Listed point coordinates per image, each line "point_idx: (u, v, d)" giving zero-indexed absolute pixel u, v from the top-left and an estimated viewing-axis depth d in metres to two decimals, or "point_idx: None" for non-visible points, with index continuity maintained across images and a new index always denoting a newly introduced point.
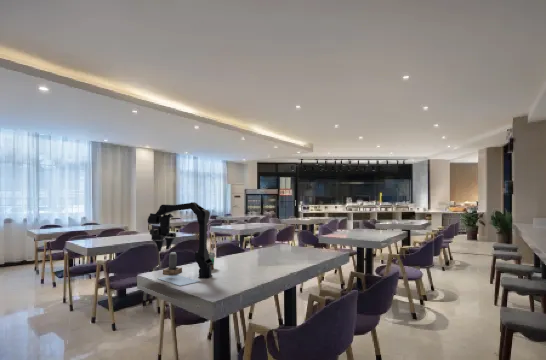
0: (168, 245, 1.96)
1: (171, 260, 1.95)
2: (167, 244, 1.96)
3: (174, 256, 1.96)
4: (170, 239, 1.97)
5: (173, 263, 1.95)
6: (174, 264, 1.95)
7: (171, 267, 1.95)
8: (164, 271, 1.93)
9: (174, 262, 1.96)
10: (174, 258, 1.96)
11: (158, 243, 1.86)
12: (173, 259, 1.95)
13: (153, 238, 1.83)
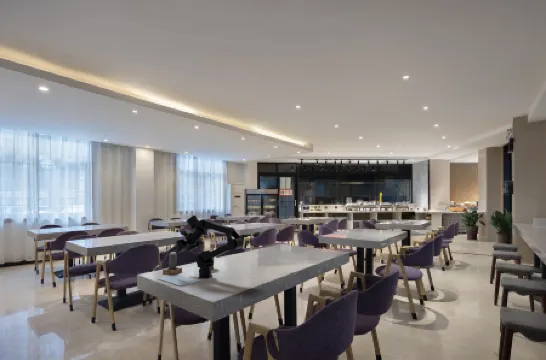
0: (189, 248, 1.98)
1: (171, 260, 1.95)
2: (189, 247, 1.98)
3: (174, 256, 1.96)
4: (194, 246, 1.97)
5: (173, 263, 1.95)
6: (174, 264, 1.95)
7: (171, 267, 1.95)
8: (164, 271, 1.93)
9: (174, 262, 1.96)
10: (174, 258, 1.96)
11: (179, 247, 1.88)
12: (173, 259, 1.95)
13: (177, 243, 1.84)
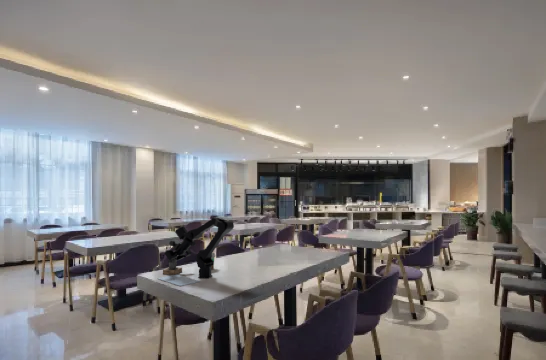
0: None
1: None
2: None
3: None
4: (180, 256, 1.98)
5: (173, 263, 1.95)
6: (174, 264, 1.95)
7: (171, 267, 1.95)
8: (164, 271, 1.93)
9: (174, 261, 1.96)
10: None
11: None
12: None
13: (166, 253, 1.88)
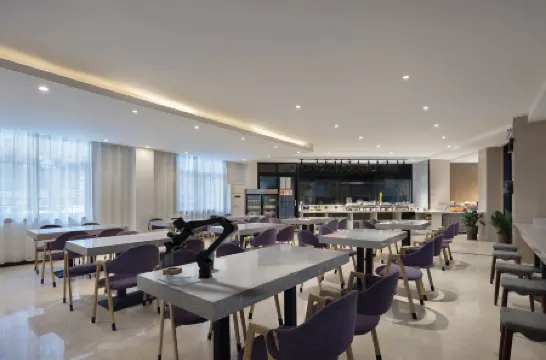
0: (172, 251, 1.95)
1: None
2: None
3: None
4: (177, 247, 1.95)
5: (170, 255, 1.91)
6: (171, 256, 1.91)
7: (168, 259, 1.90)
8: (164, 271, 1.93)
9: (171, 253, 1.92)
10: None
11: None
12: None
13: (165, 244, 1.83)
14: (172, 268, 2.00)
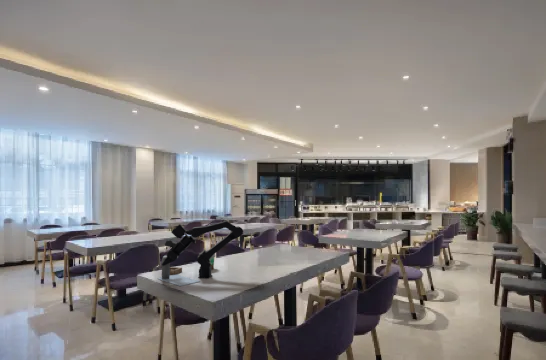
0: None
1: (166, 264, 1.80)
2: None
3: None
4: None
5: (168, 267, 1.80)
6: (169, 268, 1.81)
7: (166, 272, 1.79)
8: None
9: (169, 265, 1.81)
10: None
11: (168, 259, 1.77)
12: None
13: (170, 254, 1.73)
14: (172, 268, 2.00)
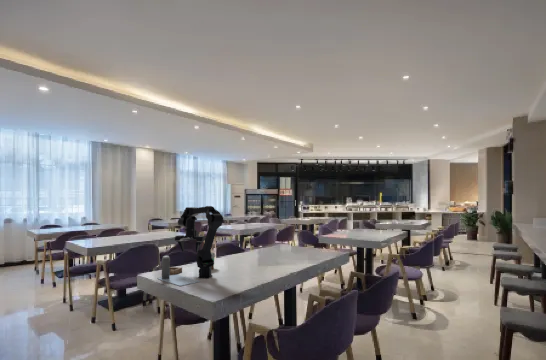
0: None
1: (166, 264, 1.79)
2: None
3: (169, 260, 1.81)
4: None
5: (168, 267, 1.80)
6: (169, 268, 1.81)
7: (166, 272, 1.79)
8: None
9: (169, 266, 1.81)
10: (169, 262, 1.81)
11: None
12: (168, 263, 1.80)
13: None
14: (172, 268, 2.00)
